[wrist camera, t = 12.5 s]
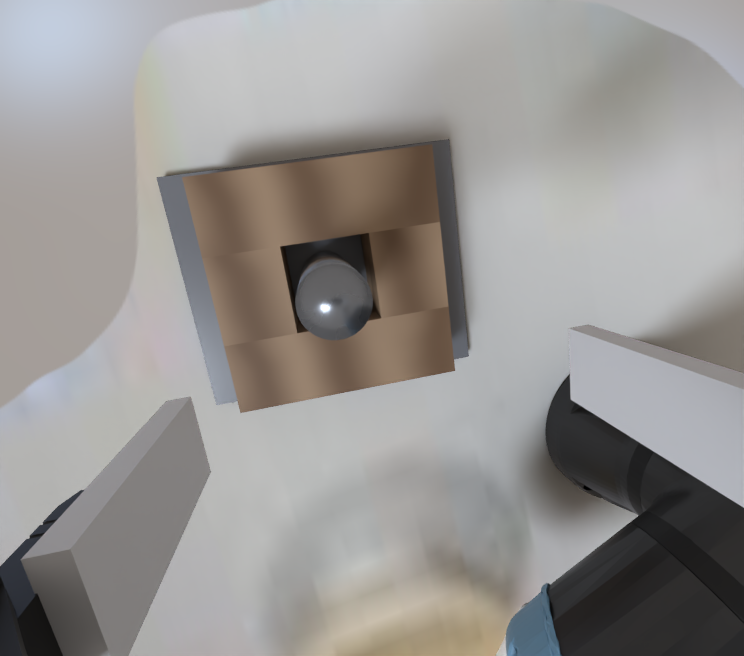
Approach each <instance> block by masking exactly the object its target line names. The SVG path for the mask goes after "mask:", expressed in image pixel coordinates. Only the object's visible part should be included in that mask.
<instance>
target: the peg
mask: <svg viewBox="0 0 744 656" xmlns="http://www.w3.org/2000/svg"><path fill="white" fill-rule="evenodd" d="M295 305H296V311H297V315H298V317H299V319H300V321H301V323H302V324H303V326H304V327H305V328H306V329H307V330H308V331H309V332H311V333H312V334H313V335H315V336H317V337H320V338H322V339H326V340H342V339H346V338H348V337H351V336H353V335H355V334H356V333H357V332H359V331H360V330H361V329H362V328H363V327H364V326H365V324H366V323H367V321H368V320H369V317H370V315H371V312H372V307H373V297H372V292H371V289H370V287H369V285H368V283H367V281H366V280H365V278H364V277H363V276H362V275H361V274H360V273H359V272H358V271H357V270H356V269H354V268H353V267H352V266H351V265H350V264H349V263H348V262H347V261H346V260H345V259H344V258H343V257H342V256H340V255H339V254H337V253H334V252H331V251H321V252H318V253H315V254H313V255H312V256H311V257H309V258H308V259H307V261H306V262H305V264H304V266H303V268H302V272H301V276H300V281H299V285H298V289H297V293H296V299H295Z"/></svg>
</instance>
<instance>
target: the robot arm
mask: <svg viewBox="0 0 744 656" xmlns="http://www.w3.org/2000/svg"><path fill="white" fill-rule="evenodd" d="M568 329H569V362H570V376H569V377H568V378H567V379H566V380H565V382H564V383H563V384H562V386H561V387H560V389H559V390H558V392H557V394H556V395H555V397H554V399H553V402H552V404H551V407H550V409H549V413H548V417H547V422H546V442H547V447H548V450H549V453H550V456H551V458H552V460H553V462H554V463H555V465H556V466H557V467H558V469H559V470H560V471H561V472H562V473H563V474H564V475H565V476H567V477H568V478H569V479H570V480H571V481H572V482H573V483H574V484H575V485H576V486H578V487H579V488H581V489H582V490H584V491H585V492H587V493H589V494H592V495H594V496H597V497H600V498H603V499H605V500H607V501H609V502H611V503H613V504H615V505H617V506H619V507H622V508H624V509H626V510H629V511H631V512H633V513H636V514H637V515H639V516H638V517H637V518H636V519H634V520H633V521H632V522H630V523H629V524H627V525H626V526H625V527H624V528H622V529H621V530H620V531H618V532H617V533H616V534H615V535H613V536H612V537H611V538H610V539H608V540H607V541H606V542H604V543H603V544H602V545H601V546H599V547H598V548H597V549H595V550H594V551H593V552H592V553H590V554H589V555H588V556H586V557H585V558H584V559H583V560H581V561H580V562H579V563H577V564H576V565H575V566H574V567H572V568H571V569H570V570H569V571H567V572H566V573H565V574H563V575H562V576H561V577H560V578H558V579H557V580H556V581H554V582H553V583H552V584H551V585H550V584H547V583H546V584H545V585H543V586H542V588H541V592H540V593H539V594H538V595H537V596H536V597H535V598H534V599H532V600H531V601H530V602H529V603H528V604H527V605H526V606H525V607H523V608H522V609H521V610H520V611H519V612H518V613H517V614H515V616H514V617H513V618H512V619H511V621H510V623H509V625H508V628H507V632H506V654H507V656H744V373H742V372H739V371H736V370H733V369H729V368H726V367H723V366H720V365H717V364H713V363H710V362H707V361H704V360H700V359H697V358H694V357H691V356H688V355H684V354H681V353H678V352H675V351H671V350H668V349H665V348H662V347H659V346H655V345H652V344H649V343H646V342H643V341H639V340H636V339H633V338H630V337H626V336H623V335H620V334H617V333H614V332H610V331H607V330H604V329H601V328H597V327H594V326H591V325H584V326H578V327H573V328H568ZM210 472H211V471H210V467H209V463H208V459H207V456H206V452H205V448H204V444H203V441H202V437H201V433H200V429H199V425H198V422H197V418H196V414H195V410H194V407H193V403H192V399H191V397H186V398H181V399H175V400H170V401H166V402H165V403H164V404H163V405H162V406H161V407H160V409H159V410H158V411H157V412H156V413H155V414H154V415H153V416H152V417H151V418H150V419H149V421H148V422H147V423H146V424H145V425H144V426H143V427H142V428H141V429H140V430H139V431H138V432H137V434H136V435H135V436H134V437H133V438H132V439H131V440H130V441H129V442H128V443H127V444H126V446H125V447H124V448H123V449H122V450H121V451H120V452H119V453H118V454H117V455H116V456H115V458H114V459H113V460H112V461H111V462H110V463H109V464H108V465H107V466H106V467H105V468H104V469H103V471H102V472H101V473H100V474H99V475H98V476H97V477H96V478H95V479H94V480H93V481H92V483H91V484H90V485H89V486H88V487H87V488H86V489H85V490H81V491H79V492H78V493H76V494H75V495H73V496H72V497H71V498H69V499H68V500H66V501H65V502H63V503H62V504H61V505H59V506H58V507H57V508H56V509H55V510H54V511H53V512H52V513H51V514H50V515H49V516H48V517H47V518H46V519H45V520H44V522H43V525H40V526H39V527H38V528H37V529H36V530H35V531H34V532H33V533H32V534H31V535H30V539H26V540H25V541H24V542H23V543H22V544H21V545H20V546H19V548H18V549H17V550H16V551H15V552H14V553H13V554H12V555H11V556H10V557H9V558H8V559H7V560H6V561H5V562H4V563H3V564H2V565H1V566H0V656H128V655H129V653H130V651H131V648H132V646H133V644H134V642H135V640H136V637H137V635H138V633H139V631H140V628H141V626H142V624H143V622H144V619H145V617H146V615H147V613H148V611H149V608H150V606H151V604H152V602H153V599H154V597H155V595H156V593H157V590H158V588H159V586H160V584H161V582H162V579H163V577H164V575H165V573H166V570H167V568H168V566H169V564H170V561H171V559H172V557H173V555H174V553H175V550H176V548H177V546H178V544H179V541H180V539H181V537H182V535H183V533H184V530H185V528H186V526H187V524H188V521H189V519H190V517H191V515H192V512H193V510H194V508H195V506H196V504H197V501H198V499H199V497H200V495H201V492H202V490H203V488H204V486H205V483H206V481H207V479H208V477H209V475H210Z"/></svg>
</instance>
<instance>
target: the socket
mask: <svg viewBox="0 0 744 656" xmlns="http://www.w3.org/2000/svg"><path fill="white" fill-rule="evenodd" d="M157 181H158V185H159V189H160V192H161V196H162V200H163V204H164V208H165V211H166V215H167V219H168V223H169V226H170V230H171V234H172V238H173V242H174V245H175V249H176V253H177V257H178V261H179V264H180V268H181V272H182V276H183V280H184V283H185V287H186V291H187V295H188V299H189V302H190V306H191V310H192V314H193V317H194V321H195V325H196V329H197V333H198V336H199V340H200V344H201V348H202V352H203V355H204V359H205V363H206V367H207V371H208V374H209V378H210V382H211V386H212V390H213V393H214V397H215V401H216V405H220V404H225V403H230V402H235V401H238V404H239V408H240V412H241V413H242V412H247V411H253V410H258V409H263V408H268V407H273V406H278V405H283V404H288V403H293V402H298V401H303V400H308V399H314V398H319V397H324V396H329V395H334V394H339V393H344V392H349V391H354V390H359V389H364V388H369V387H375V386H380V385H385V384H390V383H395V382H400V381H405V380H410V379H415V378H420V377H425V376H430V375H436V374H441V373H446V372H451V371H455V366H454V359H458V358H463V357H468V356H469V354H468V343H467V332H466V321H465V310H464V299H463V288H462V277H461V266H460V255H459V244H458V233H457V222H456V211H455V200H454V189H453V178H452V167H451V156H450V145H449V139H448V140H440V141H433V142H425V143H417V144H410V145H402V146H394V147H387V148H379V149H371V150H364V151H356V152H348V153H340V154H333V155H325V156H317V157H310V158H302V159H294V160H287V161H279V162H271V163H264V164H256V165H248V166H241V167H233V168H225V169H218V170H210V171H202V172H195V173H187V174H179V175H172V176H164V177H157ZM321 251H331V252H334V253H337V254H339V255H340V256H342V257H343V258H344V259H345V260H346V261H347V262H348V263H349V264H350V265H351V266H352V267H353V268H354V269H356V270H357V271H358V272H359V273H360V274H361V275H362V276H363V277H364V278H365V280H366V281H367V283H368V285H369V287H370V289H371V292H372V297H373V307H372V312H371V315H370V317H369V320H368V321H367V323H366V324H365V326H364V327H363V328H362V329H361V330H360V331H359V332H357V333H356V334H355V335H353V336H351V337H348V338H346V339H342V340H326V339H322V338H320V337H317V336H315V335H313V334H312V333H311V332H309V331H308V330H307V329H306V328H305V327H304V326H303V324H302V323H301V321H300V319H299V317H298V315H297V311H296V305H295V299H296V293H297V289H298V285H299V281H300V276H301V272H302V268H303V266H304V264H305V262H306V261H307V259H308V258H309V257H311V256H312V255H313V254H315V253H318V252H321Z"/></svg>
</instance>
